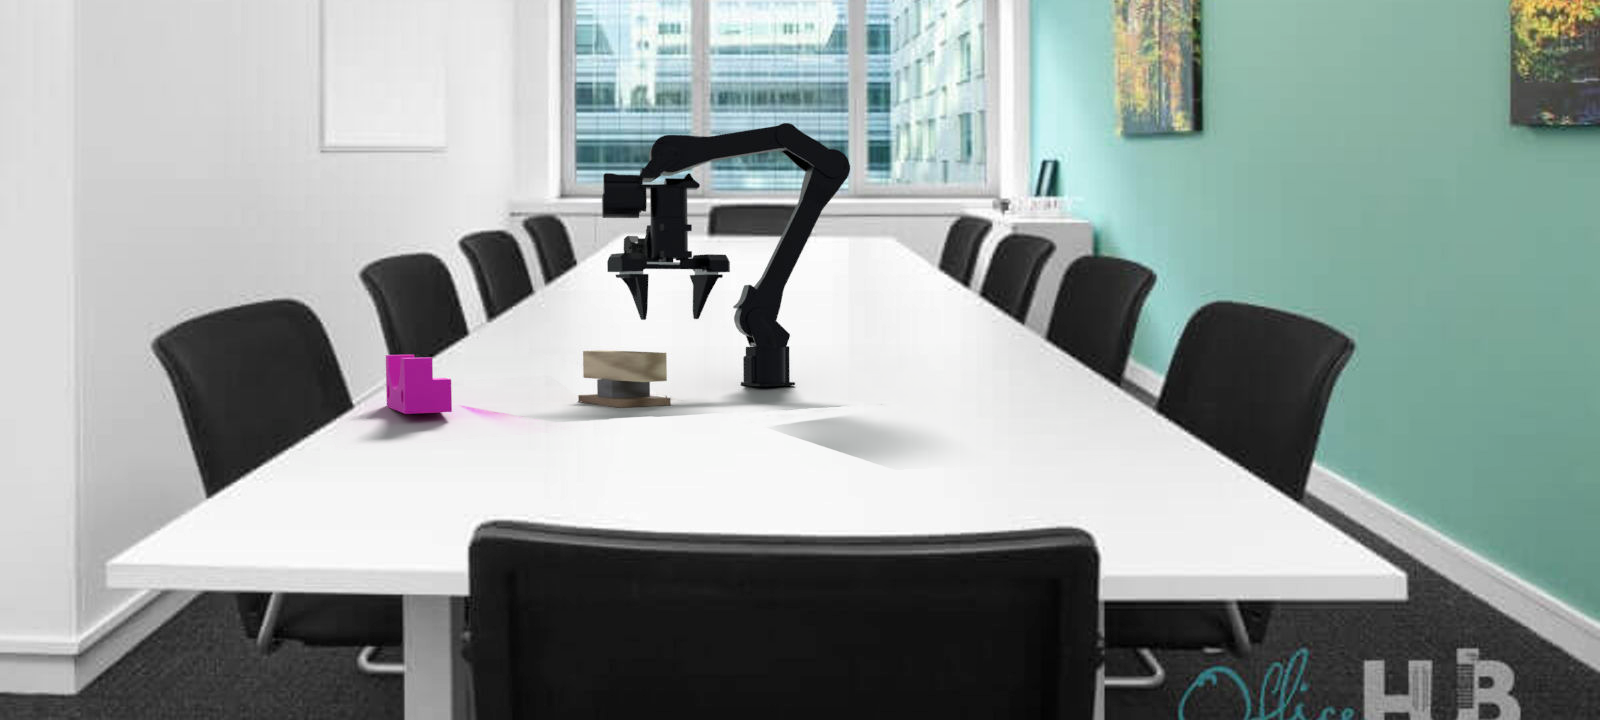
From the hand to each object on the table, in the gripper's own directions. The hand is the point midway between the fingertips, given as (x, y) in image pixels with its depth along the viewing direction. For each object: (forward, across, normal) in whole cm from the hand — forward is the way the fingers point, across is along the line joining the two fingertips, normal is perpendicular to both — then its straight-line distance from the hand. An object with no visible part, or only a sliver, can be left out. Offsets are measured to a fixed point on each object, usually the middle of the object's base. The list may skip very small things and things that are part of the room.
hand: (670, 319), depth 209 cm
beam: (+8, +12, +8) cm, 17 cm away
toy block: (+12, +39, -3) cm, 41 cm away
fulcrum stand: (+12, +12, +8) cm, 19 cm away
